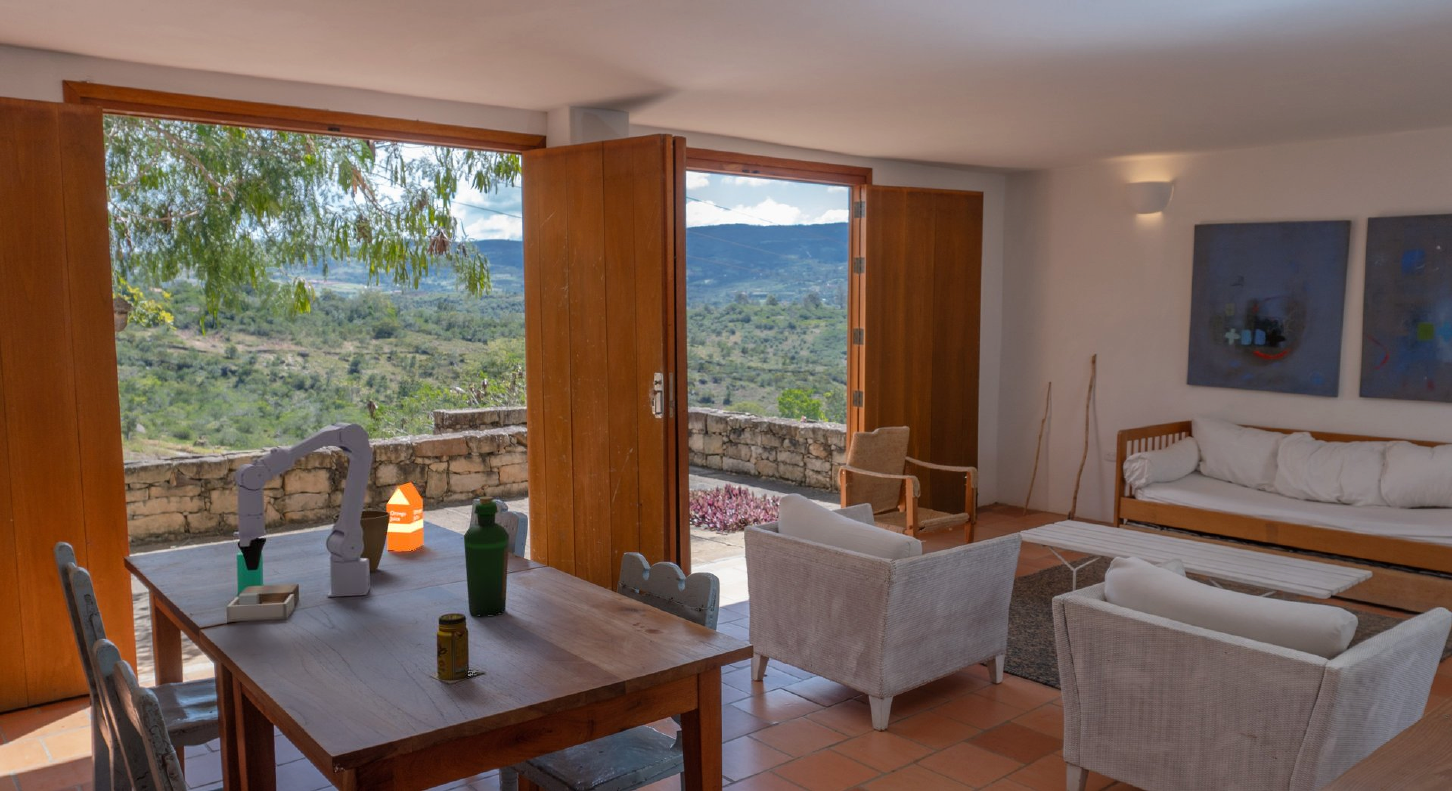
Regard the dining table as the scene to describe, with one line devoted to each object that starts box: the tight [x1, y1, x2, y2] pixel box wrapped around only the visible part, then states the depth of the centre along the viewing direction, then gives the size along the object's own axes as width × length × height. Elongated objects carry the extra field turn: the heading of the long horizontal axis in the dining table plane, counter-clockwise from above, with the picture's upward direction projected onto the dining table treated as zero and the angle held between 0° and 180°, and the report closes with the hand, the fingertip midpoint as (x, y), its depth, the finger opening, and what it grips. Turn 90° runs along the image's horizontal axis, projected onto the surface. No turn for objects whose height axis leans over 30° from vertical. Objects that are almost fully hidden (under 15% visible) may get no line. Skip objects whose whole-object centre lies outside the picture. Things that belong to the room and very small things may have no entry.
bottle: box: [463, 496, 510, 617], centre depth 241 cm, size 11×11×28 cm
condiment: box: [428, 612, 486, 684], centre depth 199 cm, size 7×8×12 cm
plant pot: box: [333, 509, 390, 573], centre depth 282 cm, size 15×15×16 cm
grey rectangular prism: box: [238, 593, 259, 605], centre depth 240 cm, size 4×4×2 cm
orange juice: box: [386, 481, 424, 552], centre depth 310 cm, size 8×9×20 cm
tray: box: [226, 594, 295, 623], centre depth 239 cm, size 13×9×4 cm, turn 102°
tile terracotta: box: [262, 601, 283, 604], centre depth 238 cm, size 4×4×2 cm
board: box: [238, 583, 300, 607], centre depth 247 cm, size 12×8×4 cm, turn 102°
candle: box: [236, 551, 264, 596], centre depth 258 cm, size 6×6×12 cm
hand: (252, 569), depth 243 cm, fingers closed
